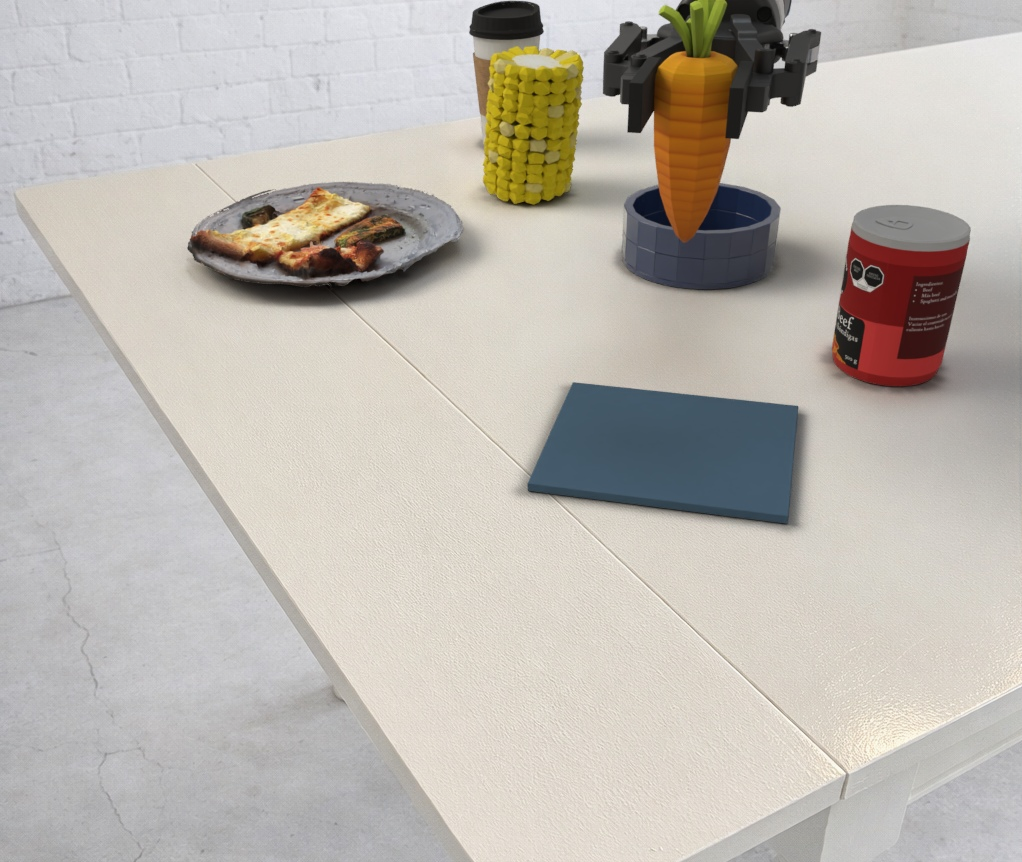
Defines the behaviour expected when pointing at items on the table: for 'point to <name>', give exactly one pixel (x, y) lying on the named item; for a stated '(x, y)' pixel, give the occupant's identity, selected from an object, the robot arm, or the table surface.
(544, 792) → the table surface
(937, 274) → the canned food
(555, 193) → the food
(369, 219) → the food plate
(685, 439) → the blue rectangular board
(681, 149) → the carrot
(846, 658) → the table surface
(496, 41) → the coffee cup
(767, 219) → the pot
